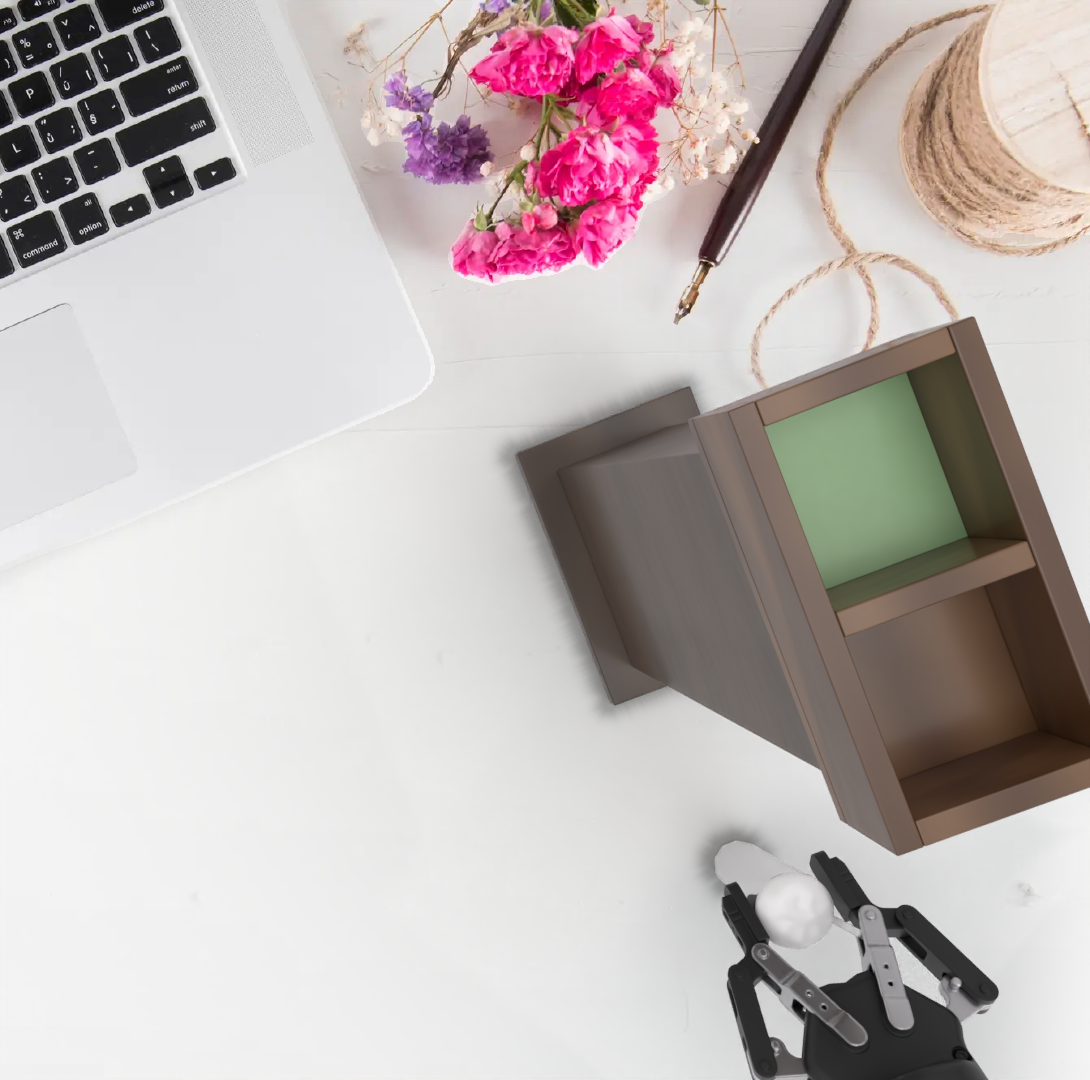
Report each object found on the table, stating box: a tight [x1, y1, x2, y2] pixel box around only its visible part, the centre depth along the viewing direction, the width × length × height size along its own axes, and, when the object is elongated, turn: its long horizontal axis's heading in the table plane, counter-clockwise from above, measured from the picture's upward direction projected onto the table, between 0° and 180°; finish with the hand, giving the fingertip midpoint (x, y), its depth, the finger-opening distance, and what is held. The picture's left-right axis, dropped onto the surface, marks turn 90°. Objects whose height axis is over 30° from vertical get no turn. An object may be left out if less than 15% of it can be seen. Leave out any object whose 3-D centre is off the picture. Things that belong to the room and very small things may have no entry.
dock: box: [688, 315, 1090, 857], centre depth 38 cm, size 9×17×4 cm, turn 21°
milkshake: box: [713, 839, 863, 951], centre depth 63 cm, size 4×5×10 cm
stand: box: [514, 385, 821, 771], centre depth 54 cm, size 12×18×28 cm, turn 21°
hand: (772, 873), depth 62 cm, fingers open, 5 cm apart
